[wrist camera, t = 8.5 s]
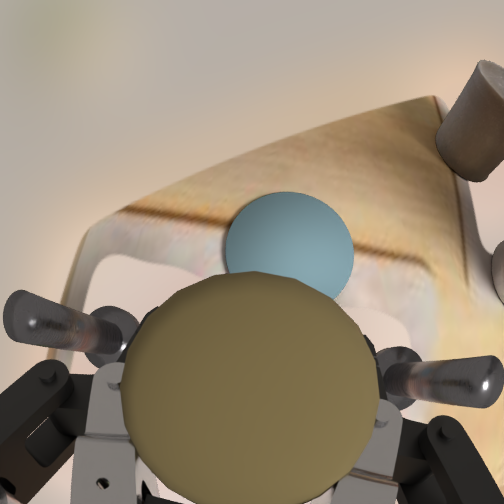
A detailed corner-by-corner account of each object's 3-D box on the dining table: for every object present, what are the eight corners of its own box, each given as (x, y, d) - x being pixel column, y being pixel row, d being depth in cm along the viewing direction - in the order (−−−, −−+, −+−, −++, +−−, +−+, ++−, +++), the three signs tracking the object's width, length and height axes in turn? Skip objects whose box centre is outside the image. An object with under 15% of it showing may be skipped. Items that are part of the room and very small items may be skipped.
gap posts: (420, 348, 26) (521, 329, 13) (413, 408, 24) (512, 426, 11) (95, 303, 28) (1, 257, 15) (84, 361, 26) (-18, 350, 13)
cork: (179, 332, 15) (50, 272, 5) (294, 302, 16) (363, 190, 6) (210, 444, 13) (134, 567, 3) (327, 413, 14) (449, 487, 4)
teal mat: (352, 205, 31) (354, 201, 30) (347, 322, 27) (349, 321, 27) (237, 189, 32) (237, 185, 31) (215, 305, 28) (214, 303, 27)
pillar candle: (496, 186, 33) (558, 122, 19) (446, 179, 33) (510, 99, 19) (473, 132, 36) (520, 65, 22) (424, 121, 36) (468, 41, 22)
